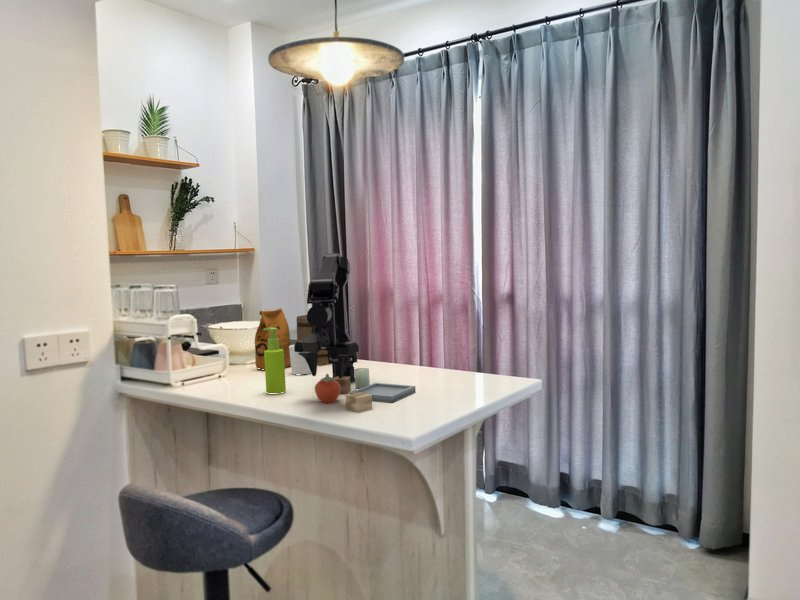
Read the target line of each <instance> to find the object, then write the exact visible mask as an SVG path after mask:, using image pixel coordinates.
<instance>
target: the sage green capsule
mask: <svg viewBox="0 0 800 600" xmlns="http://www.w3.org/2000/svg"><path fill="white" fill-rule="evenodd" d="M354 372H355V380H354V383H355V386H354V387H355V390H357V389H360V388H363V387H365V386H368V385H371V383H370V368H367V367H357V368H354Z"/></svg>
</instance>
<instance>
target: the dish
mask: <svg viewBox="0 0 800 600" xmlns="http://www.w3.org/2000/svg"><path fill="white" fill-rule="evenodd" d="M358 392H362V393H367V394H372V402H379V403H389V404H390V403H391V404H392V403H393V404H394V403H395V402H397V401H399V400H401V399H403V398H404V399H405V398H406V397H408V396H410V395H412V394H414V393H416V392H417V391H416V386H415V385H410V384H409V385H408V384H407V385H406V384H394V383H383V382H374V383H370V385H368V386H365V387H363V388H360V389H358V390H357V389H355V390H353V391H350V392H349V395H350V394H354V393H358Z"/></svg>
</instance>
